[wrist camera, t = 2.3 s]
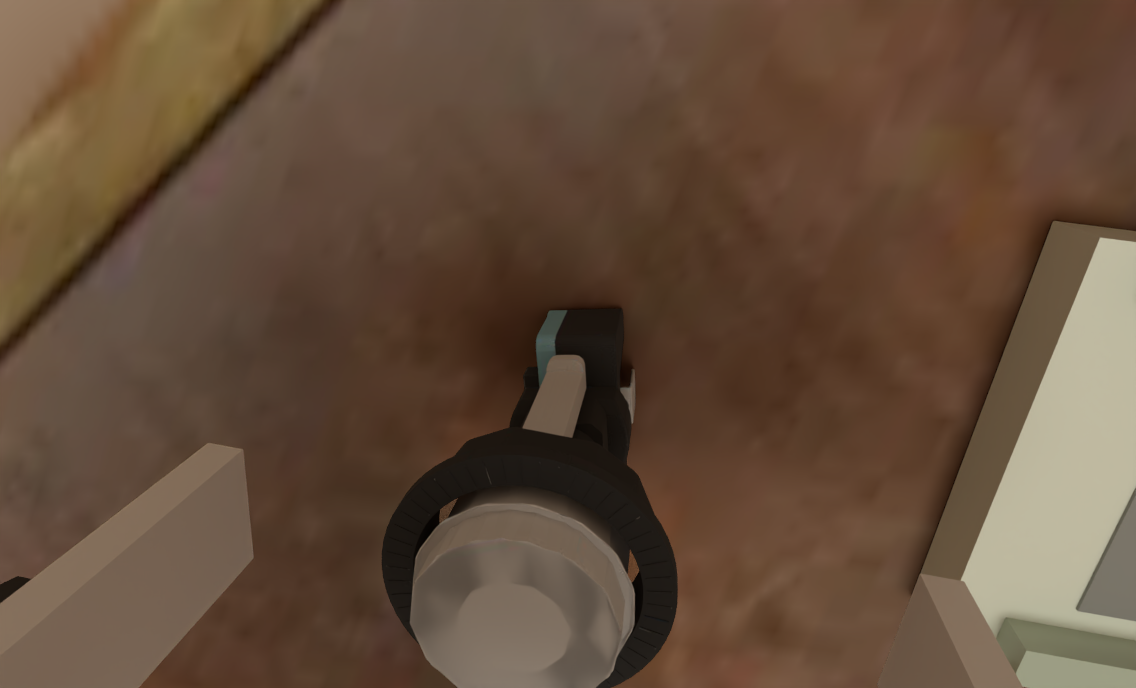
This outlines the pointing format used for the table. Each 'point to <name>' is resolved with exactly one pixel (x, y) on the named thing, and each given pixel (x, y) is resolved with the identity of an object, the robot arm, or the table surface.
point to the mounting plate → (1057, 473)
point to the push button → (540, 533)
